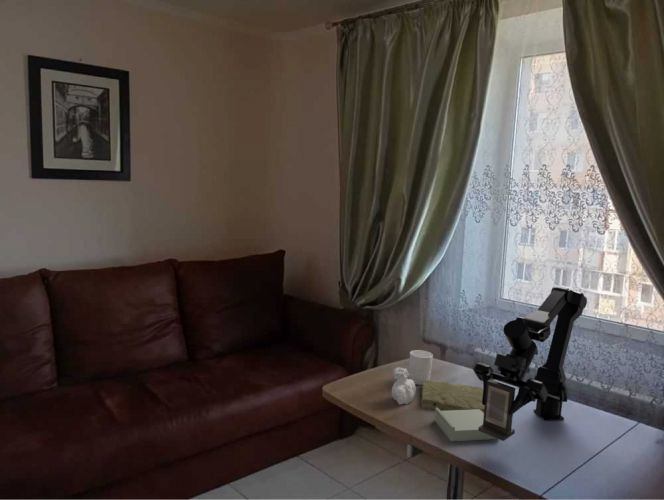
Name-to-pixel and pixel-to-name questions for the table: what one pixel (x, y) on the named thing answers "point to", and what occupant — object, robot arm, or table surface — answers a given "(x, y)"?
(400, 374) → the bust
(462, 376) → the table surface
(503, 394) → the dark photo frame
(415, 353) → the white cup
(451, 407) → the decorative tile
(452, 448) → the table surface
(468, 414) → the picture ledge
